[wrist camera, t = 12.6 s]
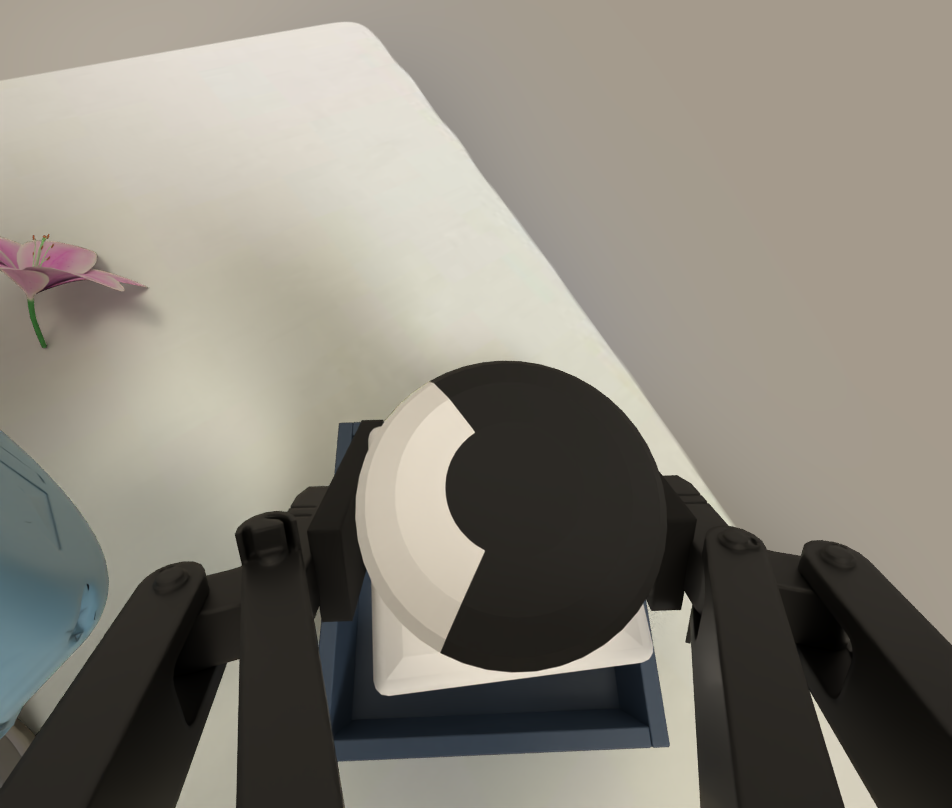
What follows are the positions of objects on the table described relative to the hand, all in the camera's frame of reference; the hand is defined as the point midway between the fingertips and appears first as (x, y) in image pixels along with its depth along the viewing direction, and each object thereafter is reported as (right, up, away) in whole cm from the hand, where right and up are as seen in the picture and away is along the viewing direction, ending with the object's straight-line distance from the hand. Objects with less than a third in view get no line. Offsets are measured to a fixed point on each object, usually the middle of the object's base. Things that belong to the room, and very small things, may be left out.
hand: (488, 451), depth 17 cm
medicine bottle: (0, -5, +2) cm, 5 cm away
